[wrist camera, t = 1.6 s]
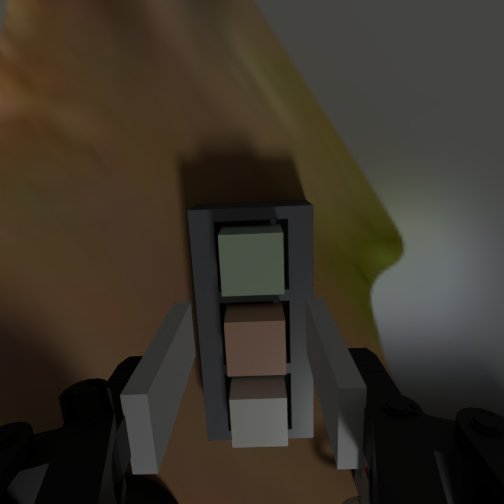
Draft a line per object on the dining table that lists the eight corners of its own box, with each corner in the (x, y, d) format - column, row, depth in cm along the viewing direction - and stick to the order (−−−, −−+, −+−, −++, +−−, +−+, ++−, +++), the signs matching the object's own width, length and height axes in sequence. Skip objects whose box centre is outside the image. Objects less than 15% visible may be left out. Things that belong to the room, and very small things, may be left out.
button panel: (213, 411, 37) (208, 440, 33) (195, 204, 31) (187, 210, 28) (307, 408, 37) (313, 437, 33) (306, 199, 31) (313, 204, 27)
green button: (226, 281, 30) (222, 296, 27) (222, 226, 29) (217, 235, 25) (281, 279, 30) (284, 294, 26) (279, 224, 29) (283, 232, 25)
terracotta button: (230, 353, 32) (227, 376, 28) (227, 304, 31) (223, 322, 27) (282, 351, 32) (286, 374, 28) (281, 302, 30) (285, 320, 27)
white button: (235, 418, 33) (232, 447, 30) (232, 374, 32) (229, 399, 29) (284, 416, 33) (287, 446, 30) (283, 372, 32) (286, 398, 29)
